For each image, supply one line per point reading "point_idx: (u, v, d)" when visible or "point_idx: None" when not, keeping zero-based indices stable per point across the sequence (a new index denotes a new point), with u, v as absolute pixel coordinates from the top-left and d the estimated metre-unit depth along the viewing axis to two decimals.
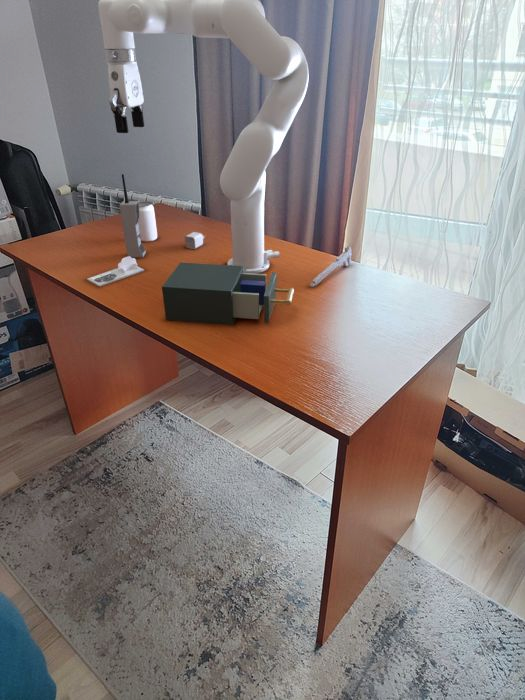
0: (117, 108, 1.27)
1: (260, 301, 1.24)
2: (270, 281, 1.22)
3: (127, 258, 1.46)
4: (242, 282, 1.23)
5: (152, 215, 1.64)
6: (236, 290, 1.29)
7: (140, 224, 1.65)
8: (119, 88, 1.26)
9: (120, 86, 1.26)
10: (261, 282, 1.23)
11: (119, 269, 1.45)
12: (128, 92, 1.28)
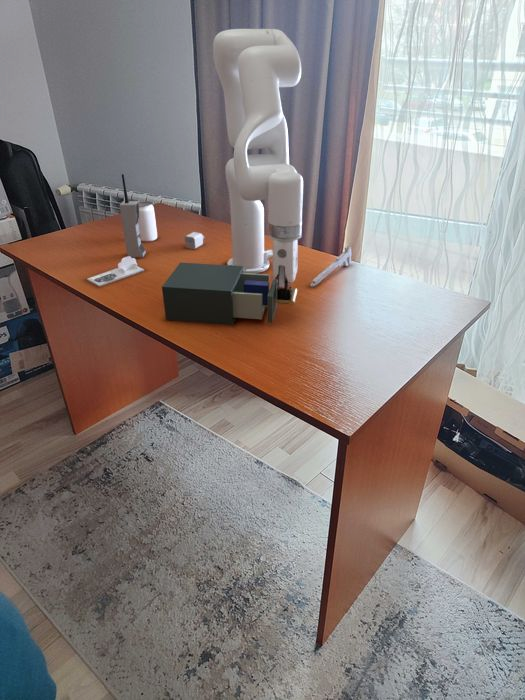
0: (286, 284, 1.17)
1: (263, 301, 1.24)
2: (273, 281, 1.22)
3: (127, 258, 1.46)
4: (245, 282, 1.23)
5: (152, 215, 1.64)
6: (239, 290, 1.29)
7: (140, 224, 1.65)
8: (285, 265, 1.12)
9: (287, 263, 1.12)
10: (264, 282, 1.23)
11: (119, 269, 1.45)
12: (294, 268, 1.14)
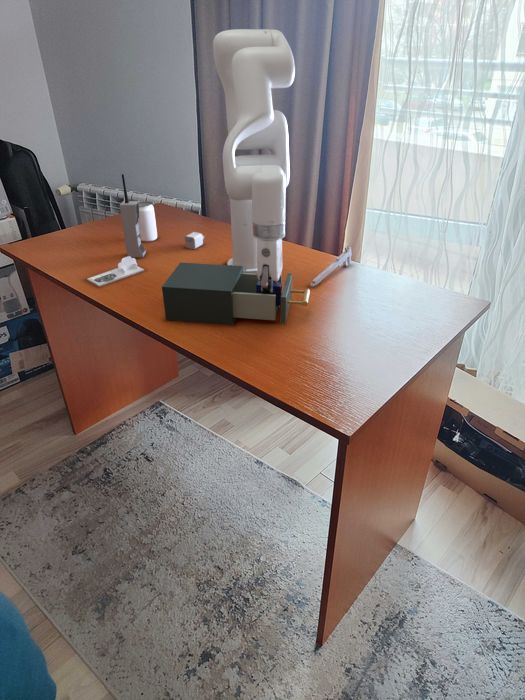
0: (269, 287, 1.16)
1: (276, 302, 1.23)
2: (286, 282, 1.21)
3: (127, 258, 1.46)
4: (258, 283, 1.22)
5: (152, 215, 1.64)
6: (251, 291, 1.29)
7: (140, 224, 1.65)
8: (269, 264, 1.13)
9: (271, 262, 1.13)
10: (277, 283, 1.22)
11: (119, 269, 1.45)
12: (278, 267, 1.15)
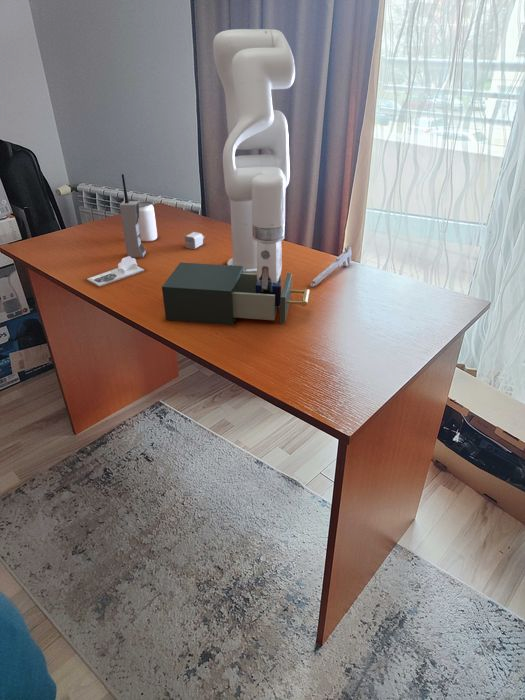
0: (269, 287, 1.18)
1: (275, 302, 1.23)
2: (286, 282, 1.21)
3: (127, 258, 1.46)
4: (257, 283, 1.22)
5: (152, 215, 1.64)
6: (251, 291, 1.29)
7: (140, 224, 1.65)
8: (269, 266, 1.14)
9: (270, 265, 1.14)
10: (276, 283, 1.22)
11: (119, 269, 1.45)
12: (277, 269, 1.16)
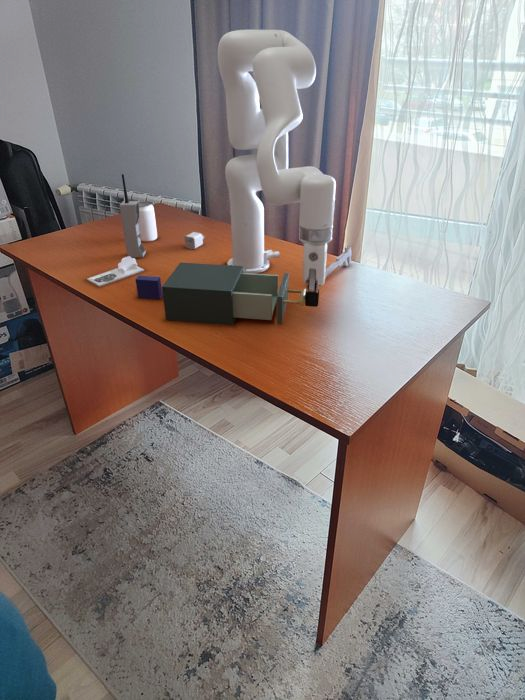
0: (315, 287, 1.16)
1: (155, 295, 1.31)
2: (283, 282, 1.21)
3: (127, 258, 1.46)
4: (138, 277, 1.30)
5: (152, 215, 1.64)
6: (248, 291, 1.29)
7: (140, 224, 1.65)
8: (316, 268, 1.12)
9: (318, 267, 1.11)
10: (155, 278, 1.30)
11: (119, 269, 1.45)
12: (324, 271, 1.13)
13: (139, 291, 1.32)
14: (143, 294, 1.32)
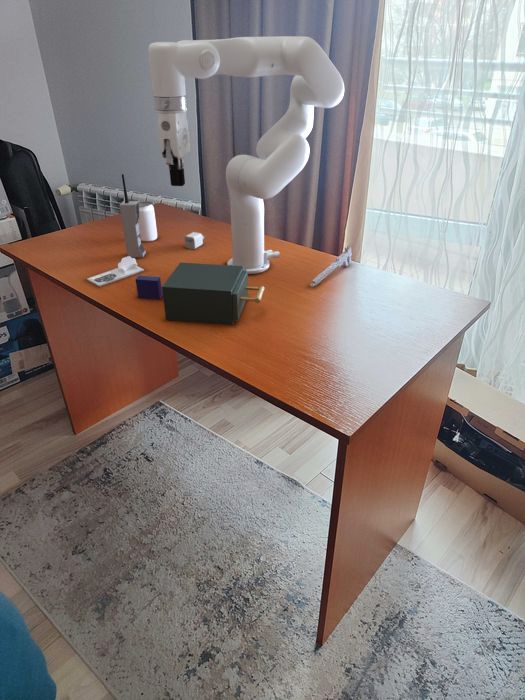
0: (175, 162, 1.20)
1: (155, 295, 1.31)
2: (240, 279, 1.23)
3: (127, 258, 1.46)
4: (138, 277, 1.30)
5: (152, 215, 1.64)
6: None
7: (140, 224, 1.65)
8: (170, 139, 1.15)
9: (171, 137, 1.15)
10: (155, 277, 1.30)
11: (119, 269, 1.45)
12: (180, 143, 1.16)
13: (139, 291, 1.32)
14: (143, 294, 1.32)
